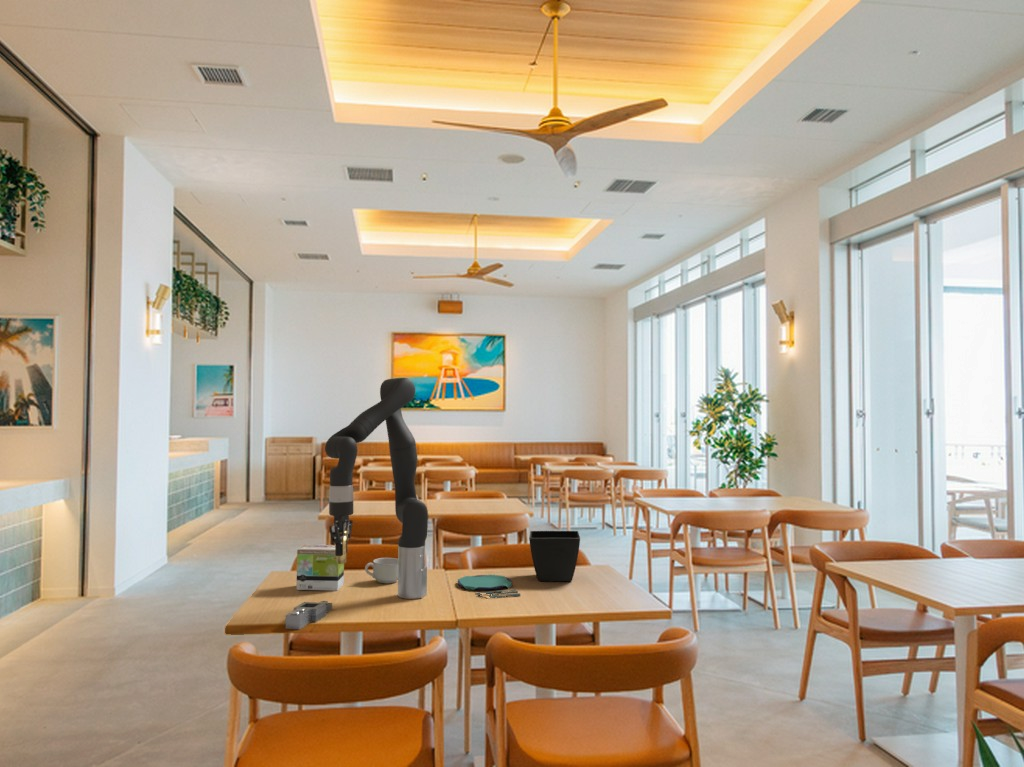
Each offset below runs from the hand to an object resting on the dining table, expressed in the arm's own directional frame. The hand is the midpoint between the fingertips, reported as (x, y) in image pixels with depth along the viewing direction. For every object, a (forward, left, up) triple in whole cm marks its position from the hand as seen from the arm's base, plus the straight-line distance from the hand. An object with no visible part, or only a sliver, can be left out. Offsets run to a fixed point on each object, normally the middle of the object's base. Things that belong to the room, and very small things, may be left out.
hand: (341, 554), depth 242 cm
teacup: (+2, -45, -19) cm, 49 cm away
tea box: (+21, -32, -19) cm, 43 cm away
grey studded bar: (+7, +7, -19) cm, 21 cm away
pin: (0, 0, -3) cm, 3 cm away
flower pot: (-60, -63, -19) cm, 89 cm away
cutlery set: (-38, -42, -19) cm, 60 cm away
